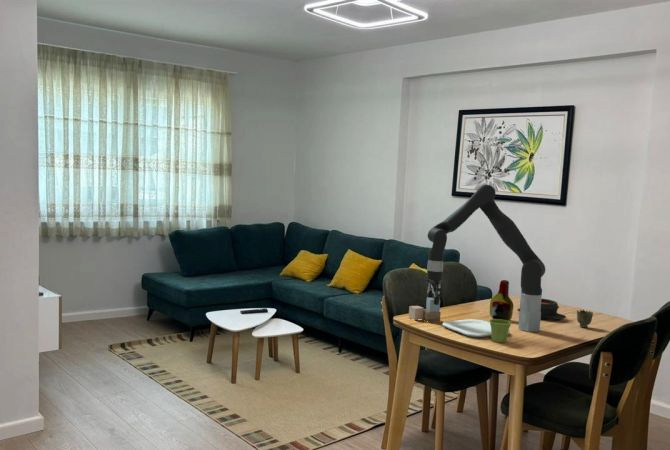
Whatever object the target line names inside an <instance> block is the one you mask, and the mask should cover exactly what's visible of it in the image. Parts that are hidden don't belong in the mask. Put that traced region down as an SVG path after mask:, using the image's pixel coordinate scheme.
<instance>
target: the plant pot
mask: <svg viewBox="0 0 670 450" xmlns="http://www.w3.org/2000/svg"><path fill="white" fill-rule="evenodd" d="M488 322H489V323H490V325H491V335H492V336H491V340H492V342H494V343H498V344H499V343H500V344H501V343H504V344H505V343H506V342H507V340H508V335H509V333H508V331H509V332H510V327H511V325H512V321H511V320H508V321H507V320H502V319H495V318H491V319H489V320H488Z"/></svg>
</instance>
